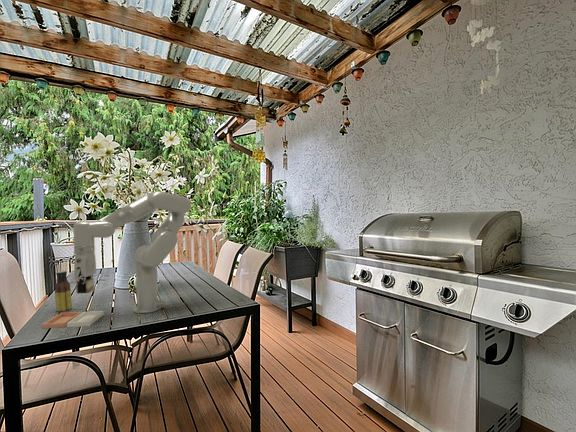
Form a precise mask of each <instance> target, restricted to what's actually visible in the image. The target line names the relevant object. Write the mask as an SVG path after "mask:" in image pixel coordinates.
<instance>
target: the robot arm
mask: <svg viewBox="0 0 576 432" xmlns="http://www.w3.org/2000/svg"><path fill="white" fill-rule="evenodd" d="M191 208H192V202H191V201H190V199H189V198H187V197H185V196H183V195H178V194H173V193H168V192H164V191H160V190H159V191H157V190H156V191H151V192H149V193H146V194H145V195H143V196H141V197H140V198H138V199H136V200H134V201H132V202H131V203H129V204H127V205H125V206H123V207H121V208H119V209H116V210H115V211H113V212H111V213H109V214H108V215H106V216H104V217H102V218H100V219H98V220H96V221H95V222H94V221H93V222H92V221H77V222H75V223H74V224H73V254H74V261H73V262H74V265H73V273H74V280H75V283H76V282H77V294H87V293H86V284H85V279H94V275H95V274H96V273H97V265H96V264H97V263H96V261H97V260H96V254H95V248H96V247H95V238H101V239H106V238H110V237H112V236H113V235H114V234H115V232H116V229H118V228H120V227H122V226H124V225H127V224H130V223H134V222H137V221H140V220H141V219H142V218H144V217H146V216H147V215H150V214H151V213H152V212H154V211H156V210H158V209H159V210H163V211H166V212H167V217H166V219H165V220H164V221H163V222H162V223H161V225H160V226H159V227H158V228H156V230H155V231H154V232H153V234H152V235H151V238H150V239H151V244H150V245H149V244H148V245H147V244H145V245H144V244H143V245H141V246H139V247H138V248H137V249H136V250H135V253H134V256H133V257H134V264H135V265H134V266H135V276H136V277H135V279H136V280H135V282H136V285H135V286H136V287H135V288H136V290H135V293H136V306H134V307H133V310H132V311H133V313H134V314H135V313H136V314H148V313H154V312H157V311H159V310H160V309H161V308H162V306H167V304H168V303H167V300H160V297H158V296H159V295H158V268H157V267H158V266H159V265H161V264H162V263H163V262H164V260H165V259H166V258H167V257H168V255H169V254H170V253H171V252H172V251H173V250H174V248H175V247H176V245H177V243H178V235H177V234H178V232H179V231H180V230H181V228H183V225H184V223H185V214H187V213H188V212H189V211H190V210H191ZM82 279H83V280H82Z"/></svg>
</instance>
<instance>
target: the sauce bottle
mask: <svg viewBox="0 0 576 432" xmlns="http://www.w3.org/2000/svg"><path fill="white" fill-rule="evenodd" d="M67 274H68V272H67V270H59V271H56V283H55V285H54V296H55V297H54V298H55V309H56V313H68V312H70V311H72V310H73V309H72V308H73V302H72V291H71V284H70V282H69V281H68V278H67Z"/></svg>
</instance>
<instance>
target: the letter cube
mask: <svg viewBox="0 0 576 432" xmlns="http://www.w3.org/2000/svg"><path fill="white" fill-rule="evenodd" d="M81 279H82V280H83V278H81ZM94 280H95V279H94V278H93V279H85V284H86V293H85V294H90V293H91V292H93V291H94V290H95V281H94ZM75 294H78V293H77V282H76V281H75Z"/></svg>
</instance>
